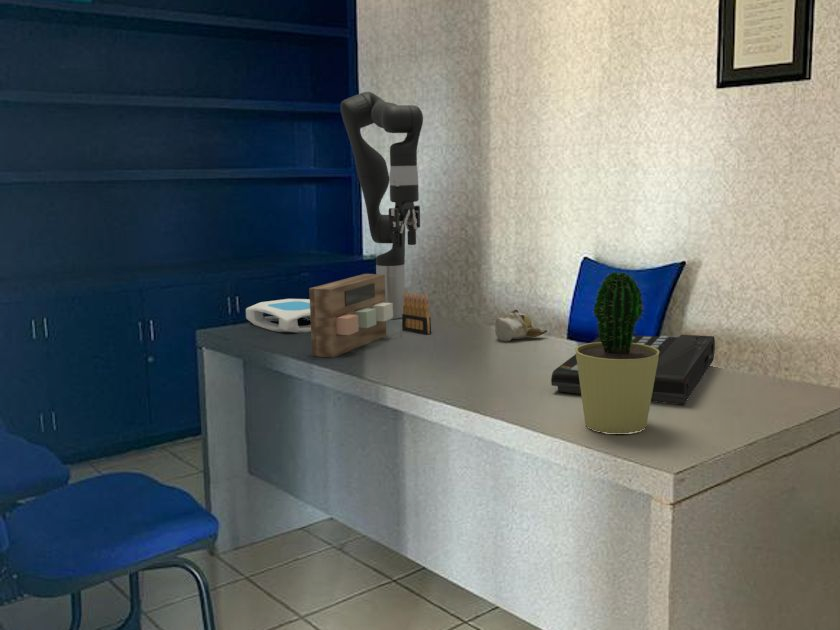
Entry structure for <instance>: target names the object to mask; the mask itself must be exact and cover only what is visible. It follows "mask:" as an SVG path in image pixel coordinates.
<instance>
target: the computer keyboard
mask: <svg viewBox="0 0 840 630" xmlns="http://www.w3.org/2000/svg"><path fill="white" fill-rule="evenodd" d="M715 339H716V338H715V336H714V335H695V334H694V335H693V334H680V335H679V336H676V337H675V336H669V335H660V336H655V335H652V336H651V335H637V334H633V337H632V341H633V342H632V343H637V344H643V345H648V346H651V347H654V348H656V349H658V350H659V358H658V364H657V369H656V375H655V380H654V386H653V391H652V397H651V402H653V401H657V402H656V403H663V402H666V403H665V404H672V403H678V404H677V405H682V404H685V405H686V403H687V402H686V401H688V400H689V399H688V398H690V397H691V396H692V394H693V392H694V391H695V389H696V388H697V386H698V385H697V384H699V383H700V382H701V380H702V379H703V377H704V376H705V374H706V372H707V371H708V369H709V368H710V367H711V365H712V363H713V362H714V358H715V351H716V340H715ZM600 340H601V339H600V337H599V336H598V337H596V338H595V339H594V340H593V341H591V342H590V343H596V342H597V341H598V342H601V341H600ZM708 367H709V368H708ZM706 370H707V371H706ZM704 373H705V374H704ZM702 376H703V377H702ZM550 378H551V379H550V383H551V386H554V387H557V391H558V393H565V392H566V393H568V394H575V393H576V395H581V388H580V381H579V373H578V366H577V359H576V353H575V354H574V355H573V356H571V357H570V358H568V359H567V360H566V361H565V362H563V363H562V364H561V365H559V366H558V367H556V368H555V369H554V370H553V371H552V374H551V376H550ZM701 378H702V379H701ZM700 379H701V380H700ZM699 381H700V382H699ZM698 382H699V383H698ZM696 385H697V386H696ZM695 387H696V388H695ZM694 388H695V389H694ZM693 390H694V391H693ZM692 391H693V392H692ZM691 393H692V394H691ZM690 395H691V396H690ZM689 396H690V397H689ZM687 399H688V400H687ZM685 402H686V403H685Z"/></svg>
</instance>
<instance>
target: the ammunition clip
mask: <svg viewBox="0 0 840 630" xmlns="http://www.w3.org/2000/svg"><path fill="white" fill-rule="evenodd" d="M431 321H432V319H431V316H430V306H429V297H428V293H425V296H424V294H423V293H421V294H420V293H419V292H417V293H416V294H415V292H412V293H411V291H408V298H407V293H406V291H405V292H404V301H403V314H402V318H401V331H402V330H403V332H409V333H415V334H420V335H425V336H428V335H432V326H431V325H432V323H431Z"/></svg>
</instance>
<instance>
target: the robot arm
mask: <svg viewBox="0 0 840 630" xmlns="http://www.w3.org/2000/svg"><path fill="white" fill-rule="evenodd" d="M340 114H341V117H342V121H343V125H344V127H345V130H346V133H347V136H348V140H349V143H350V146H351V150H352V154H353V158H354V164H355V168H356V173H357V177H358V180H359V186H360V188H361V192H362V195H363V199H364V203H365V209H366V215H367V220H368V221H367V222H368V227H369V233H370V236H371V239H372V241H373V242H375V243H376V244H392V246H391V248H390V249H389V251H387V252H384V253H381V254H379V255H377V256H376V257H375V264H376V265H375V269H376V274H382V275H385V303H393V318H392V319H391V320H394V319H395V320H397V319H402V314H403V301H404V292H405V291H406V293H407V298H408V293H409V289H408V288H409V287H408V286H406V271H405V268H406V267H405V266H406V265H405V260H406V259H405V256H406V242H405V241H406V229H407V245H409V246H415V245H416V244H417V231H418V229H420V228H421V206H420V205H415V203H417V202H419V200H420V199H419V197H420V196H419V171H418V155H417V154H418V145H419V139H420V136H421V132H422V131H421V130H422V128H423V125H424V124H423V123H424V115H423V112H422V110H421V109H420V108H419V106H417V105H414V104H413V105H412V104H411V105H404V104H403V105H401V104H400V105H398V104H397V103H394V102H388V101H385V100H384V99H382V98H381V97H380V96H378V95H377V94H375V93H373V92H371V91H364V92H360V93H358V94H356V95H355V94H354V95H353V96H350V97H347V98H345V99H344V100H342V101H341V102H340ZM372 124H375V126H377V127H378V128H381V129H383V130H384V131H385V132H386V133H389V134H406V135H405V138H404V139H403V140H402V141H398V142H394V143H392V144H391V145H390V146H389V166H390V167H389V169H388V165H387V161H386V160H385V158H384V156H383V155H382V154H381V153H380V152H379V151H378V150H377V149H375V148H374V147H372V146H371V145H370V144H369V143H368V142H367V141H366V140H365V139H364V137H363V135H362V134H361V129H363V128H366V127H367V126H371V125H372ZM388 187H389V201H390V202H392V203H394V207H389V208H388V214H381V210H380V205H381V202H382V199H384V198H383V197H384V196H385V194H386V192H387V190H388Z"/></svg>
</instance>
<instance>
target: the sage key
mask: <svg viewBox="0 0 840 630" xmlns="http://www.w3.org/2000/svg"><path fill="white" fill-rule="evenodd" d="M355 315H358V325H359V328H369V327H371V326H374V325H376V309H370V308H361V309H358V310H355Z"/></svg>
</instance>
